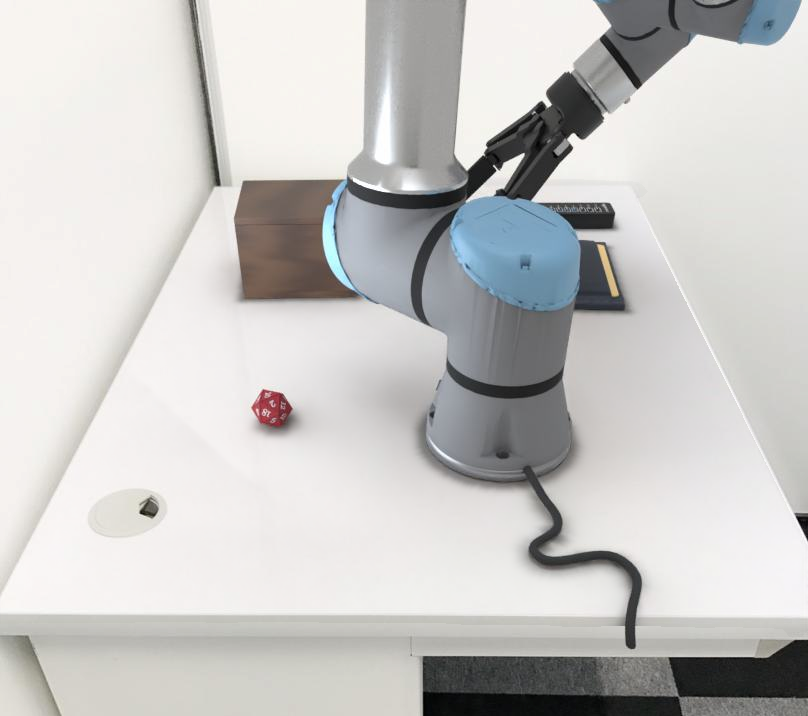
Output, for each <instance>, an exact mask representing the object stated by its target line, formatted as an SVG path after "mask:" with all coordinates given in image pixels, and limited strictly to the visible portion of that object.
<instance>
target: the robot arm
mask: <svg viewBox="0 0 808 716" xmlns="http://www.w3.org/2000/svg"><path fill="white" fill-rule="evenodd" d="M467 2H468V0H365V19H364V20H365V22H364V23H365V24H364V26H365V27H364V30H365V31H364V34H365V35H364V77H363V78H364V79H363V80H364V84H363V87H364V89H363V93H364V94H363V136H362V137H363V139H362V140H363V141H362V143H363V144H362V150H361V151H360V152H359V153H358V154H357V155H356V156H355V157H354V158H353V159H352V160H351V161H350V162H349V164H348V165H347V168H346V178H345V180H344V181H343V182H342V183H341V184H340V185H339V186H338V187H337V188H336V190H335V191H334V193H333V195H332V198H333V201H334V202H333V203H332V205H328V206H327V208H326V211H325V216H324V221H323V246H324V251H325V255H326V258H327V261H328V263H329V266H330V268H331V270H332V271H333V273H334V274H335V276H336V277H337V278H338V279H339V280H340V281H341V282H342V283H343V284H344V285H345V286H347V287H348V288H350V289H352V290H354V291H355V292H356V294H357V295H359V296H361V297H362V298H363V299H364V300H366V301H368V302H371V303H373V304H375V305H381V306H384V307H386V308H388V309H390V310H393V311H394V312H397V313H399V314H401V315H404V316H405V317H408V318H409V319H413V320H415V321H417V322H419V323H421V324H424V325H425V326H427V327H430V328H432V329H434V330H437V331H438V332H440V333H443V334H444V335H445V336H446V362H445V371H444V373H443V375H442V378H441V379H439V380H438V383H437V385H436V388H435V391H436V392H435V394H434V397H433V399H432V402H431V404H430V407H429V409H428V411H427V415H426V421H425V441H426V444H427V447H428V448H429V450H430V452H431V453H432V454H433V456H434V457H435V458H436V459H437V460H438V461H440V462H441V463H442V464H444V465H445V466H446V467H448V468H450V469H451V470H454V471H456V472H458V473H460V474H463V475H465V476H469V477H471V478H475V479H480V480H486V481H493V482H514V481H515V482H516V481H523V480H528V482H529V483H530V486H531V487H532V489H533V491H534V493H535V494H536V496H537V497H538V499H539V501H540V502H541V504H542V505H543V506H544V508H545V509H546V510H547V511H548V513H549V514H550V516H551V518H552V521H553V525H552V527H551V528H549V530H547V531H546V532H544V533H542V534H540V535H539V536H537V537H536V538H534V539H532V540H531V541H530V543H529V545H528V553H529V554H530V556H531V558H532V559H534V560H535V561H536V562H537V563H540V564H542V565H544V566H550V567H556V566H557V567H560V566H567V565H569V566H570V565H575V564H579V563H584V562H585V563H586V562H592V561H609V562H613V563H615V564H617V565H618V566H620V567H621V568H622V569H623V570H625V571H626V572H627V573H628V574H629V576H630V578H631V591H630V594H629V598H628V602H627V606H626V612H625V618H624V620H625V621H624V641H625V643H624V644H625V647H626V648H627V649H629V650H635V649H636V647H637V641H636V619H637V612H638V607H639V603H640V600H641V599H640V598H641V593H642V589H643V578H642V575H641V573H640V571H639V570H638V568H637V566H636V565H634V563H633V562H632V561H631V560H630V559H628V558H627V557H625V556H624V555H622V554H620V553H618V552H614V551H611V550H590V551H583V552H578V553H573V554H567V555H566V554H565V555H560V556H559V555H558V556H557V555H556V556H552V555H547V554H544V553H542V552H541V551H540V550H539V548H540V547H541V546H543V545H545V544H546V543H548V542H550V541H551V540H553V539H554V538H556V537H557V536H558V535H559V534H560V532H561V531H562V529H563V525H564V523H563V516H562V513H561V512H560V510H559V509H558V508H557V506H556V505H555V503H554V502H553V501H552V500H551V499H550V497H549V495H547V493H546V491H545V489H544V487H543V486H542V483H541V482H540V481H539V479H538V477H539V476H542V475H544V474H546V473H548V472H550V471H552V470H554V469H555V468H557V467H558V466H559V465H560V464H561V463H562V462H563V461H564V460H565V459H566V457H567V455H568V454H569V451H570V448H571V442H572V438H573V437H572V436H573V426H572V425H573V424H572V423H573V422H572V418H571V414H570V412H569V409H568V402H567V397H566V392H565V385H564V380H563V378H564V370H565V365H566V359H567V353H568V347H569V340H570V336H571V335H570V334H571V328H572V323H573V318H574V317H573V316H574V311H575V309H574V305H575V299H576V295H577V292H578V290H579V284H580V282H579V281H580V276H579V267H580V251H581V249H580V244H579V242H578V240H579V237H578V234H577V232H576V230H575V228H573V227H572V226H571V225H570V224H569V222H568V221H566V220H565V219H564V218H563V217H562V216H561V215H559V214H558V213H556V212H555V211H553V210H551V209H549V208H547V207H545V206H543V205H540V204H538V203H539V202H535V201H532V200H533V199H534V198H535V197H536V195H537V194H538V192H539V191H540V190H541V189H542V187H543V186H544V185H545V183H546V182H547V181H548V179H549V178H550V177H551V175H553V173H554V172H555V170H556V169H557V168H558V167H559V165H560V164H561V163H562V162H563V161H564V160H565V159H566V157H568V156H569V155H570V154H571V153H572V151H573V150H574V146H573V145H572V144H571V142H570V141H569V140H568V139H569V138H570V137H571V135H575V136H576V137H577V138H578V139H579V140H580V141H584V140H586V139H588V137H589V136H590V135H591V134H593V133H594V132H595V131H597V129H598V128H599V127H600V126H602V124H603V123H604V120H605V117H604V115H605V114H606V113H607V114H608V115H612V114H613V113H614V112H616V111H617V110H618V109H619V108H620V107H621V106H622V105H623V104H624V105H627V104H629V103H630V102H631V97H632V96H633V95H634V94H635V93H636V92H637V91H638V90H639V89H641V88H642V86H643V85H645V83H646V82H647V81H648V80H650V78H652V77H653V76H654V75H655V74H656V73H657V72H659V71H660V69H662V68H663V67H664V66H666V64H667V63H668V62H670V60H672V59H673V58H674V57H676V56H677V55H678V54H679V53H680V52H681V51H682V50H683V49H686V48H687V47H688V46H689V45H690V44H691V42H692V41H693V40H694V39H695V37H697V35H699V36H703V37H709V38H714V39H718V40H723V41H729V42H732V43H736V44H738V45H741V46H742V45H744V44H748V45H757V46H764V47H768V46H772V45H775V44H776V43H778V42H779V41H780V40H782V39H783V37H785V35H786V34H787V32H788V31H789V30H790V28H791V26H792V24H793V22H794V20H795V19H796V17H797V14H798V13H799V10H800V7H801V4H802V2H803V0H592V2H594V3H595V5H596V7H598V8H599V10H600V12H601V14H602V15H603V16H604V17H605V19H606V20H607V22H608V23H609V25H610V27H609V28H608V29H606V31H604V33H603V34H601V36H600V37H599V38H597V39H596V40H595V41H594V42H593V43H592V44H591V45H590V46H589V47H587V49H586V50H585V51H584V52H582V54H581V55H579V56H578V58H577V59H576V60H575V61H573V63H572V68H573V70H571V72H570V71H568V70H567V71H564V72H563V73H562V74H561V75H560V76H559V77H558V78H557V79H556V80H555V81H554V82H553V83H552V84H551V85H550V86H549V87H548V88H547V89H546V91H545V97H546V98H547V100H548V101H549V103H550V106H548V105H547V104H546V103H545V102H544V100H540V101H539V102H537V103H536V104H535V105H534V106H533V107H532V108H531V109H530V110H529V111H528V112H526V113H524V114H523V115H522V116H521V117H519V118H518V119H517V120H515V121H513V122H512V123H511V124H509V125H508V126H506V127H505V128H504V129H502V130H501V131H500V132H498V133H497V134H496V135H494V136H493V137H492V138H490V139H489V140H487V142H486V143H485V147H486V148H485V150H484V151H483V154H482V156H480V157H479V158H478V159H477V160H476V161H475V162H474V163H473V164H472V165H470V167H469V168H468V169H466V168H465V166H464V165H463V164H462V163H461V161H460V160H459V159H458V157H457V156H456V153H455V148H456V136H457V125H458V115H459V113H458V112H459V102H460V88H461V77H462V65H463V64H462V63H463V52H464V40H465V29H466V17H467V15H466V14H467V5H468V4H467ZM521 155H524V156H523V157H522V158H521V161H520V162H519V164H518V165H517V167H516V169H515V170H514V172H513V173H512V175H511V177H510V178H509V180H508V181H507V182H506V184H505V186H504V187H503V188H498V189H496V190H495V193H494V195H491V196H482V197H478V198H475V199H472V200H470V201H468V200H469V199H470V198H471V197H472V196H473V195H474V194H475V193H476V192H477V191H478V190H479V189H480V188H481V187H482V186H483V185H484V184H485V183H487V181H488V180H489V179H490V178H492V176H494V175H495V174H496V173H497V172H499V171H501V170H502V168H503V167H504V164H505V163H507V162H509V161H511V160H513V159H516V158H517V157H519V156H521Z"/></svg>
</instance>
